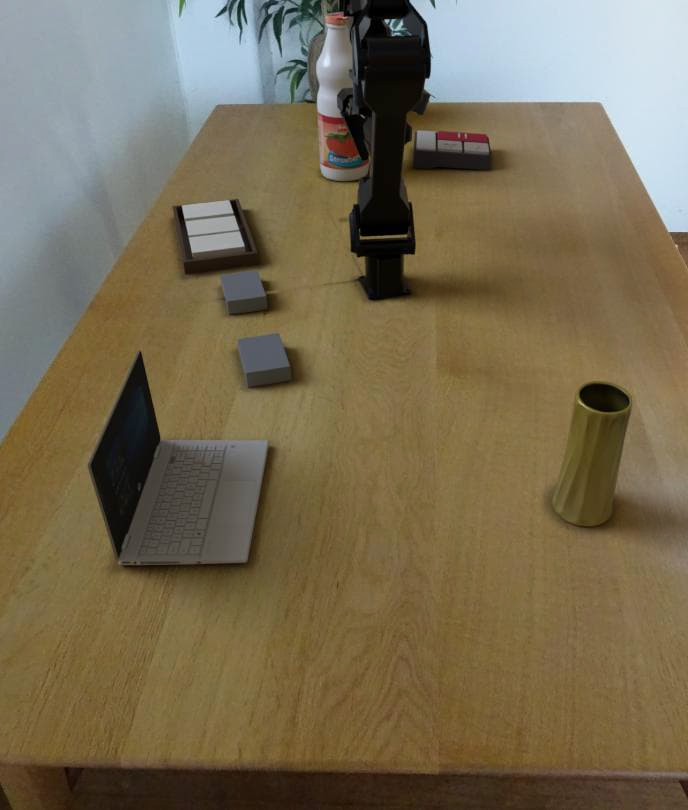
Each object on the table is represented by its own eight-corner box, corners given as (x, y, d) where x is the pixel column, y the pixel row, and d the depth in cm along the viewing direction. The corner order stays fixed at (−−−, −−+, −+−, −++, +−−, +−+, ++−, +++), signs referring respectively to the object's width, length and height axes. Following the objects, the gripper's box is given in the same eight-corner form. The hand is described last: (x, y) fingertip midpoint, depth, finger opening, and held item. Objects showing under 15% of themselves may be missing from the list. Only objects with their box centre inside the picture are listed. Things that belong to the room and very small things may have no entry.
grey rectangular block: (267, 309, 115) (266, 295, 114) (228, 315, 114) (227, 301, 112) (258, 283, 121) (257, 269, 120) (221, 288, 120) (220, 274, 118)
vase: (570, 478, 87) (591, 370, 79) (622, 503, 84) (649, 394, 75) (541, 508, 83) (559, 399, 75) (594, 536, 80) (619, 425, 72)
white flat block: (194, 265, 124) (192, 252, 123) (191, 250, 128) (188, 237, 127) (246, 259, 126) (244, 246, 125) (241, 243, 130) (239, 231, 129)
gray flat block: (291, 380, 101) (290, 366, 100) (247, 387, 100) (245, 373, 99) (280, 346, 107) (278, 332, 106) (238, 353, 106) (236, 339, 105)
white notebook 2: (236, 227, 135) (234, 215, 133) (240, 242, 131) (239, 229, 129) (187, 233, 133) (185, 221, 132) (190, 248, 129) (188, 235, 127)
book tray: (259, 267, 125) (257, 252, 123) (185, 277, 122) (183, 262, 121) (240, 212, 141) (238, 198, 139) (174, 219, 138) (172, 205, 137)
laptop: (247, 566, 77) (231, 465, 69) (116, 567, 77) (84, 465, 69) (269, 444, 91) (258, 348, 83) (159, 444, 91) (136, 348, 83)
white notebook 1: (230, 211, 140) (229, 199, 138) (235, 225, 136) (233, 212, 134) (183, 217, 138) (181, 205, 137) (186, 230, 134) (184, 218, 132)
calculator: (492, 151, 155) (414, 146, 154) (489, 173, 157) (412, 168, 157) (489, 132, 163) (415, 127, 163) (486, 153, 166) (413, 148, 166)
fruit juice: (356, 160, 160) (352, 7, 143) (377, 177, 154) (376, 17, 137) (312, 168, 157) (303, 12, 140) (332, 185, 150) (325, 23, 133)
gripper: (448, 78, 111) (443, 186, 120) (403, 44, 125) (402, 144, 134) (371, 85, 108) (372, 196, 117) (334, 50, 122) (338, 152, 131)
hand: (373, 170), depth 125 cm, fingers open, 9 cm apart
